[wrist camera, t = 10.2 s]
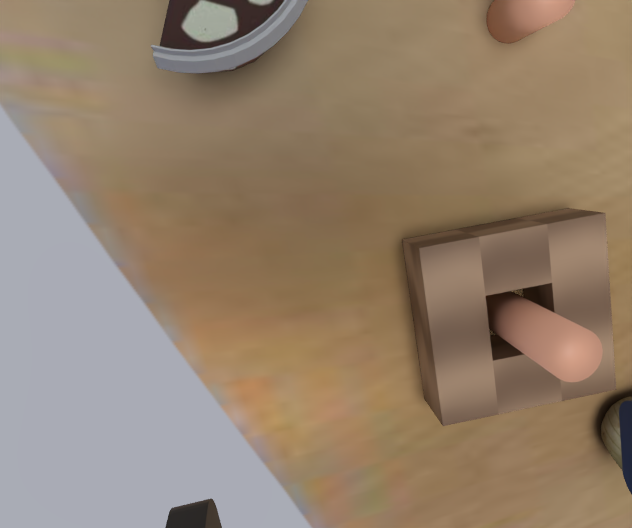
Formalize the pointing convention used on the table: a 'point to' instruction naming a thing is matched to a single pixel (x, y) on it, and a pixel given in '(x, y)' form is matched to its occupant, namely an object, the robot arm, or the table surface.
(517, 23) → the short dowel
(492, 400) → the walnut block
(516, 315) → the long dowel
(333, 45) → the table surface
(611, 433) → the fennel bulb
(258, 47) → the food container
